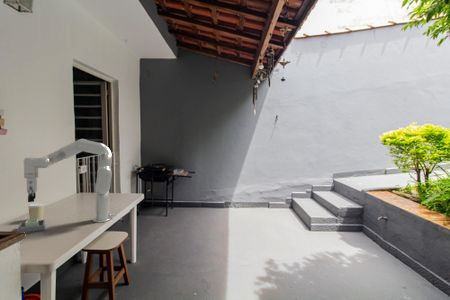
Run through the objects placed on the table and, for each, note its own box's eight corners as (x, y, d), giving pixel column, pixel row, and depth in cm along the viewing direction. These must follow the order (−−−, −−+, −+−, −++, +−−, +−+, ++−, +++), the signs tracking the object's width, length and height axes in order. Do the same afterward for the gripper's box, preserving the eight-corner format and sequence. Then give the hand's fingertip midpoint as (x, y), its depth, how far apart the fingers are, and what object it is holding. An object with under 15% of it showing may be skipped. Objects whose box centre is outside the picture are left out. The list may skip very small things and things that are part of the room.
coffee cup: (31, 218, 183) (31, 203, 183) (46, 217, 187) (45, 202, 186) (26, 222, 174) (26, 206, 174) (41, 221, 178) (41, 205, 177)
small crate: (38, 225, 167) (38, 218, 167) (37, 228, 162) (37, 221, 162) (26, 227, 164) (26, 220, 163) (25, 230, 158) (25, 223, 158)
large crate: (45, 224, 172) (45, 219, 172) (44, 230, 161) (44, 225, 161) (20, 227, 164) (20, 223, 164) (16, 234, 153) (16, 229, 153)
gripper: (37, 176, 156) (37, 202, 157) (39, 173, 170) (39, 196, 171) (22, 177, 152) (23, 204, 153) (25, 174, 166) (26, 198, 167)
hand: (31, 200), depth 162 cm, fingers open, 9 cm apart
